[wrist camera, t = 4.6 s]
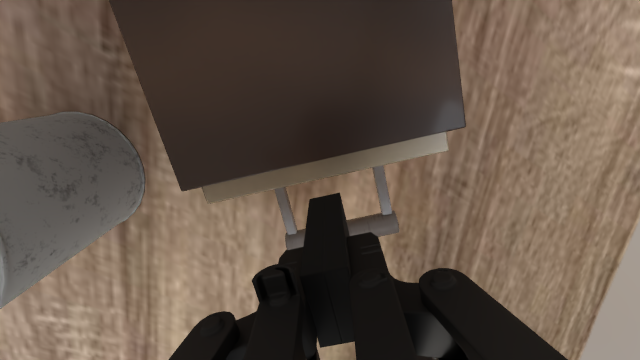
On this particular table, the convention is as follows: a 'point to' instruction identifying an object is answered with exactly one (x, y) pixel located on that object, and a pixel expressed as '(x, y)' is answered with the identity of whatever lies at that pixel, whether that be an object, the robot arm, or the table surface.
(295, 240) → the drawer
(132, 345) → the table surface
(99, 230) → the grey concrete cylinder
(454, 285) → the robot arm
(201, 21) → the cabinet
